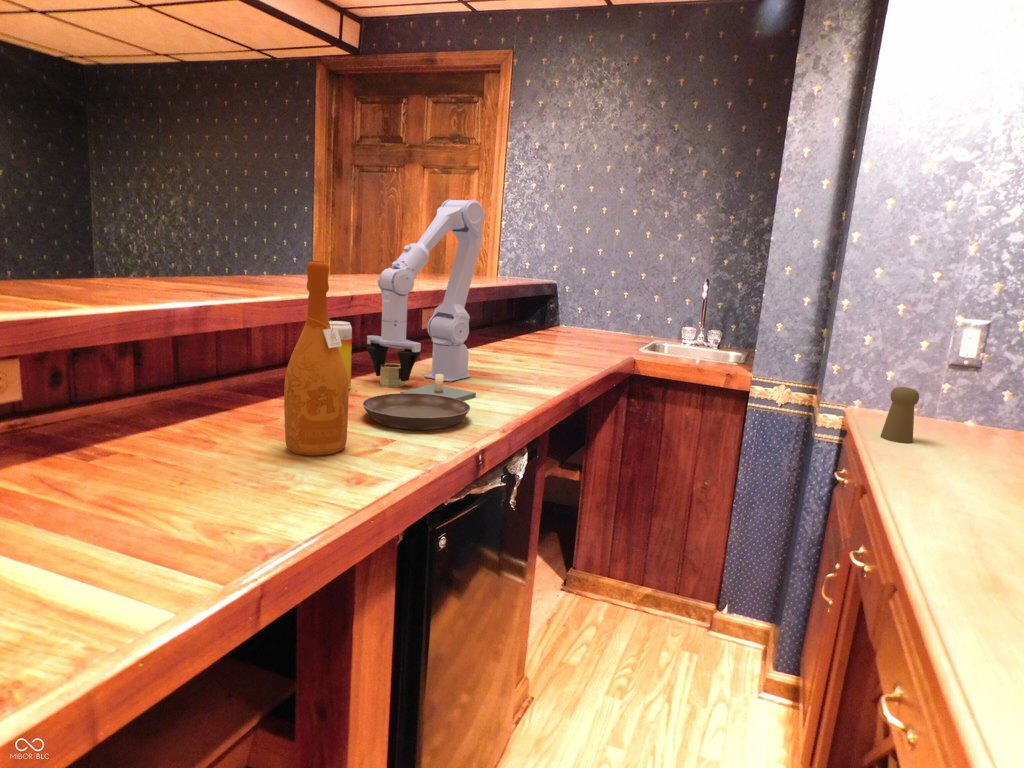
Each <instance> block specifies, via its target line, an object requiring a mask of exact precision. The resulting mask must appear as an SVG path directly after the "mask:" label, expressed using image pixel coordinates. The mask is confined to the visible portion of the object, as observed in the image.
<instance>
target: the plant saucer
mask: <svg viewBox="0 0 1024 768" xmlns="http://www.w3.org/2000/svg"><path fill="white" fill-rule="evenodd" d="M362 406H363V408H364V410H365V411H366V413H367V414H368V415H369V417H371V418H372V419H373V420H374V421H375V422H377V423H378V424H381V425H383V426H386V427H391V428H394V427H395V428H396V429H399V430H400V429H402V430H409V429H411V431H430V430H429V429H433V430H439V429H440V428H441V429H446V428H450V427H452V425H453V426H454V425H457V424H458V423H459V422H460V421H462V420H463V419H464V418H465V417H466V416H467V415H468V413H469V412H470V410H471V406H470V404H468V403H467V402H465V401H461V400H458V399H455V398H450V397H445V396H439V395H431V394H417V393H388V394H380V395H373V396H371V397H368V398H366V399H364V400H363V402H362ZM441 429H440V430H441Z"/></svg>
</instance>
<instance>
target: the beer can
mask: <svg viewBox="0 0 1024 768" xmlns="http://www.w3.org/2000/svg"><path fill="white" fill-rule="evenodd" d="M331 321H332V322H331ZM331 321H330V320H329V323H330V327H331V328H332V323H333V328H337V329H338V332H339V336H340V340H341V344H342V346H340V347H339V349H340V352H341V354H342V357H343V360H344V363H345V366H346V370H347V375H348V386H349V389H350V388H351V387H352V349H353V347H352V345H353V343H352V342H353V327H352V325H351V322H348V321H343V320H331Z"/></svg>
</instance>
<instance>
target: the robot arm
mask: <svg viewBox="0 0 1024 768" xmlns="http://www.w3.org/2000/svg"><path fill="white" fill-rule="evenodd" d="M483 208H484V207H482V205H481V203H480V202H479V201H478V200H476V199H469V200H467V199H459V200H458V199H446V200H445V201H443V202H442V203H441V206H439V207H438V208H437V209H436V215H435V217H434V219H432V221H431V223H430V224H429V226H428V227H427V229H426V230H425V231H424V233H422V235H421V237H420V238H419V240H418V241H417V242H413V243H412V242H411V243H409V244H406V245H404V247H403V251H402V253H401V254H400V255H399V256H398V258H397V259H396V260H395V261H393V262H392V263H391V266H390V267H388V268H385V269H384V270H382V272H381V273H380V275H379V278H378V279H377V281H376V282H377V286H378V288H379V290H380V292H381V298H382V300H381V305H382V306H381V334H380V335H381V336H380V335H373V334H372V335H367V336H366V338H367V339H366V341H367V342H366V344H367V345H370V346H367V347H366V350H367V352H368V354H369V356H370V358H371V361H372V364H373V369H374V371H375V372H374V373H375V376H376V377H380V365H381V364H386V359H387V354H388V350H389V349H390V348H393V349H398V350H401V351H397V355H398V359H399V364H400V366H401V381H405V382H407V381H409V380H410V377H411V374H412V370H413V367H414V365H415V363H416V361H417V359H418V358H419V357H420V354H421V353H420V352H421V350H422V349H421V346H422V344H421V343H420V342H417V341H412V340H410V339H407V328H408V327H407V325H408V301H409V300H408V299H409V298H408V297H409V295H408V294H409V293H410V292H411V291H413V289H414V285H415V280H416V278H417V276H418V274H419V273H420V272H421V270H423V268H424V267H425V266H426V265H427V263H428V262H429V261H430V252H431V251H432V250H433V249H434V248H435V246H436V245H437V244H438V243H439V242H440V241H441V240H442V239H443V238H444V237H445V236H446V235H447V233H448V232H449V231H451V233H452V234H453V235H454V237H456V240H458V243H457V247H456V252H455V255H454V260H453V263H452V266H451V270H450V275H449V277H448V282H447V284H446V285H447V286H446V290H445V293H444V296H443V297H444V298H443V301H442V302H441V303H440V304H439V305H438V306H437V307H435V308H434V311H433V315H432V316H431V317H430V319H429V320H428V323H427V327H426V328H427V333H428V336H430V338H431V342H432V355H431V356H432V357H431V358H432V359H431V360H432V361H431V373H429V374H428V373H427V374H424V378H428V379H433V380H435V374H443V375H444V376H443V382H447V383H448V382H449V383H450V382H451V383H452V382H454V381H458V380H463V379H466V378H470V377H471V375H470V374H469V373H468V371H469V370H468V369H469V348H468V347H467V346H466V344H464V343H465V341H466V340H467V339H468V336H469V334H470V324H469V322H470V319H471V317H470V314H469V313H468V311H467V309H466V308H465V307H466V303H467V298H468V294H469V291H470V288H471V283H472V280H473V276H474V272H475V269H476V265H477V261H478V256H479V254H480V249H481V246H482V243H483V225H484V222H485V218H486V213H485V210H484V209H483Z"/></svg>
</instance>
